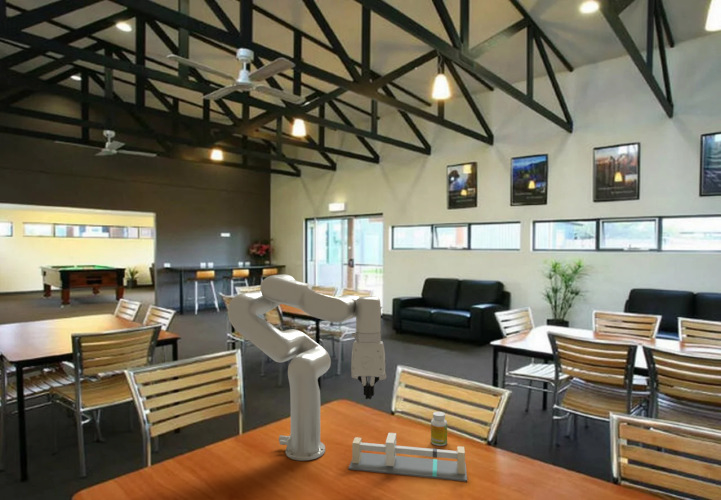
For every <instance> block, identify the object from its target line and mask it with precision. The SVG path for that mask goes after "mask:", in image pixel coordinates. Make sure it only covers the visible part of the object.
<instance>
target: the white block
mask: <svg viewBox="0 0 721 500" xmlns="http://www.w3.org/2000/svg"><path fill="white" fill-rule="evenodd" d="M385 445H386V452H385V455H386V466H394V463H395V459H396V456H397V453H395V446H397V433H396V432H388V434H387V437H386V440H385Z"/></svg>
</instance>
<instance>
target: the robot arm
mask: <svg viewBox="0 0 721 500" xmlns="http://www.w3.org/2000/svg"><path fill="white" fill-rule="evenodd" d="M281 305H285V306H287V307H292V308H295V309H298V310H301V311H302V312H304V313H305V314H307V315H308V316H311V317H313V318H315V319H320V320H323V321H326V322H329V323H336V324H337V323H342V322H345V321H348V320H351V319H355V332H352V333H351V338H353V339H355V340H354V341H353V343H352V349H351V361H350V363H351V364H350V372H351V373H350V375H351V378H352V379H355V380H358V381H359V382H360V383H361V384H362V385H363V396H365V400H368V399H369V400H372V398H373V397H374V395H375V384H376V383H377V382H379V381H383V380H386V378H387V372H386V367H387V365H386V353H385V352H386V351H385V344H384V342H383V341H382V339H381V338H382V336H381V335H382V334H381V333H382V332H381V331H382V330H381V324H382V323H381V322H382V321H381V319H382V318H381V315H382V314H381V309H382V308H381V307H382V306H381V300H380V298H379V297H377V296H370V295H369V296H367V295H366V296H357V295H355V294H354V295H353V294H345V295H340V296H331V295H327V294H323V293H320V292H317V291H315V290H313V287H312V285H311V284H310V283H307V282H303V281H299V280H296V279H295V278H294V277H293V276H292V275H289V274H286V273H285V274H275V275H273V274H272V275H269V276H267V277H265V278H264V279H263V280H262V282H261V283H260V287H259V290H254V291H248V292H242V293H239V294H237V295H235V296H234V297H232V298H231V299H230V301H229V304H228V308H227V315H228V319H229V321H230V324H231V325H232V327H233V329H234V330H235V331H236V332H238V334H240V335H241V336H243V337H244V338H245V339H246V340H248V341H249V342H250V343H252V344H253V345H254V346H255V347H257V348H258V349H259V350H260V351H262V352H263V353H264V354H265V355H266V356H267V357H269V358H271V360H273V361H274V362H276V363H284V362H285V363H286V362H287V361H290V360H291V361H290V362H289V364H288V367H287V376H288V377H287V378H288V383H289V389H290V390H289V392H290V393H289V395H290V398H289V399H290V404H289V405H290V435H279V437H278V442H279V445H281V446H284V445H286V447H285V455H286V457H288V458H289V459H291V460H294V461H300V462H301V461H305V462H306V461H312V460H315V459H319V458H320V457H322V456H323V455H324V454H325V453H326V445H325V444H324V443H323V442H322V441H321V390H320V386H319V381H318V380H319V378H320V377H322V376H323V375H324V374H325V373H327V372H328V371H329V369H330V368H331V364H332V360H331V357H330V354H329V352H328V351H327V350H326V349H325V348H324V347H323V346H322V345H321V344H319V343H317V341H315V340H314V339H312V338H311V337H310V336H309V335H308V334H306V333H304V332H303V331H301V330H298V329H293V328H292V329H290V328H289V329H286V330H280V329H279V328H277V327H275V325H273V324H272V323H270V322H269V321H267V320H266V319H263V318H262V317H259V316H261V315H264V314H267V313H269V312H270V311H272V310H274V309H276V308H278V307H279V306H281ZM368 377H369V378H370V382H369V380H368Z"/></svg>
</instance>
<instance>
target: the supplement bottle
mask: <svg viewBox="0 0 721 500" xmlns="http://www.w3.org/2000/svg"><path fill="white" fill-rule="evenodd" d="M430 442H431V444H433V445H434V446H439V447H442V446H446V445H447V444H448V421H447V420H446V414H445V412H444V411H434V412H433V413H432V419H431V420H430Z"/></svg>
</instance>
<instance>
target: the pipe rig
mask: <svg viewBox="0 0 721 500" xmlns="http://www.w3.org/2000/svg"><path fill="white" fill-rule="evenodd" d="M351 445H352V446H351V447H352V449H351V450H352V451H351V453H352V454H351V455H352V458H351V461H350V464H349V466H348V470H352V471H362V472H370V473H371V472H372V473H379V474H389V475H391V474H392V475H401V476H410V477H418V478H430V479H437V480H438V479H440V480H441V479H442V480H449V481H458V482H468V474H467V472H468V471H467V464H466V451H465V446H459V445H458V446H457V445H456V446H457V447H456V450H448V449H439V448H434V447H433V448H428V447H416V446H407V445H405V446H404V445H396V446H395V453H396V459H395V463H394V466H386V454H381V453H386V444H382V443H374V442H373V443H370V442H362V437H358V436H357V437H356V436H355V437H354V439H353V441H352V444H351ZM362 451H367V452H362ZM371 452H372V453H371ZM373 452H375V453H373ZM376 452H377V453H376ZM403 455H410V456H403ZM412 456H421V457H412ZM423 457H424V458H423ZM426 457H429V458H426ZM437 458H442V459H437ZM444 459H445V460H444ZM446 459H452V460H446ZM453 459H454V460H453Z"/></svg>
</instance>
